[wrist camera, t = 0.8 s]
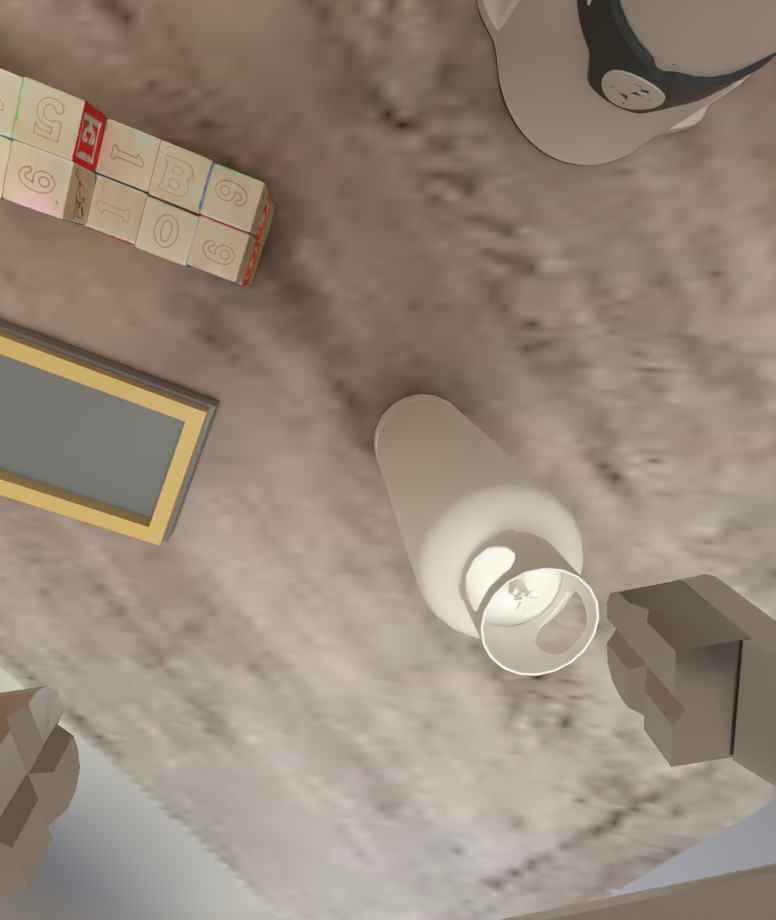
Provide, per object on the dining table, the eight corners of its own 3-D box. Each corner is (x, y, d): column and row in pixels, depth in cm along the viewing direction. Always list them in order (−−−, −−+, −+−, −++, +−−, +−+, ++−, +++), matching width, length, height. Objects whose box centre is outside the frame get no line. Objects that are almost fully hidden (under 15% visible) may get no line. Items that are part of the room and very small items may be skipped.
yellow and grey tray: (-156, 259, 41) (-199, 257, 37) (219, 401, 46) (211, 410, 43) (-186, 415, 43) (-228, 426, 40) (173, 532, 49) (162, 549, 46)
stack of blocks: (278, 204, 43) (262, 173, 31) (252, 287, 44) (228, 287, 33) (-33, 75, 39) (-186, -17, 27) (-50, 171, 40) (-203, 123, 28)
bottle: (410, 374, 48) (524, 486, 21) (486, 427, 50) (680, 591, 23) (354, 454, 49) (396, 655, 22) (431, 503, 51) (553, 740, 24)
